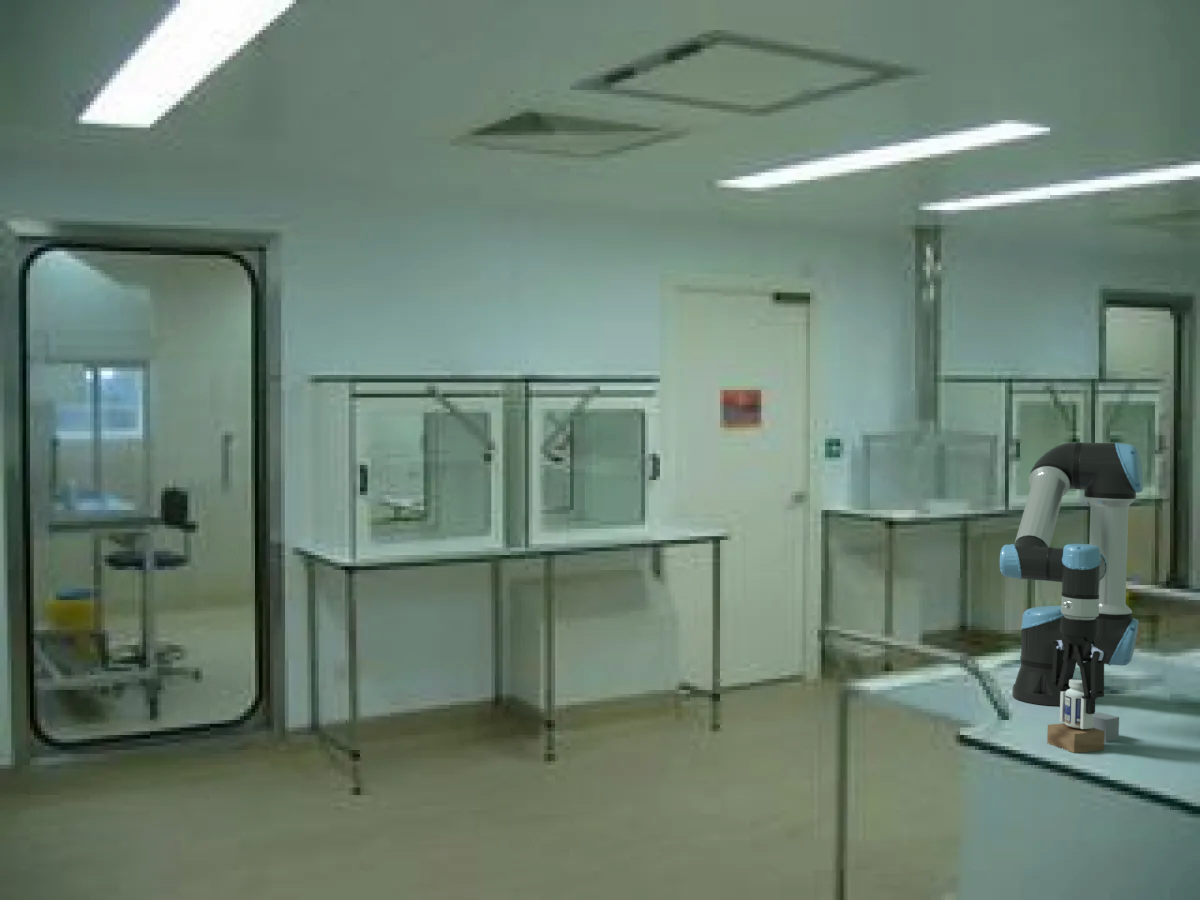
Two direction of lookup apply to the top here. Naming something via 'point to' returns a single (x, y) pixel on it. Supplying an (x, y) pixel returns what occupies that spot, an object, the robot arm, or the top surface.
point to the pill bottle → (1073, 703)
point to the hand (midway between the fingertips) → (1076, 724)
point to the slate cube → (1107, 725)
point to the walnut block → (1075, 738)
